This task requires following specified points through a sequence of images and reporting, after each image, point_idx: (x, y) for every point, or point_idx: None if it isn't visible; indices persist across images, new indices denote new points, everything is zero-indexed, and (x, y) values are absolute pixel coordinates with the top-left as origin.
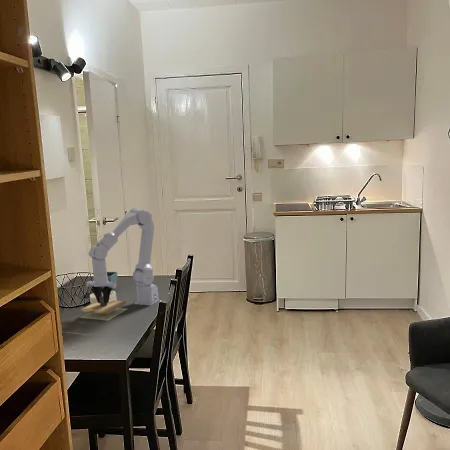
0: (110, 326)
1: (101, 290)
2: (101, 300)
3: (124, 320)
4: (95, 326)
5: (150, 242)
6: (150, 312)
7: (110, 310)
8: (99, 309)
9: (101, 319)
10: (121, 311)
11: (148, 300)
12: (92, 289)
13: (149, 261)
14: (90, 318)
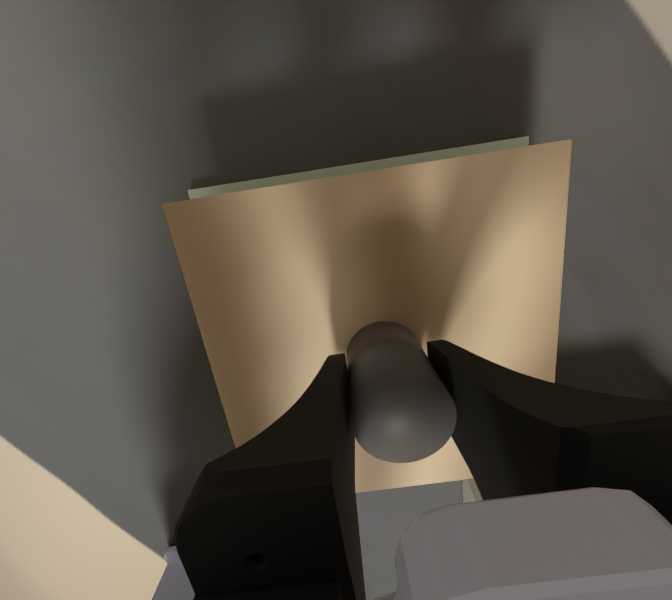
0: (54, 90)
1: (322, 456)
2: (381, 356)
3: (82, 268)
4: (190, 19)
5: None
6: (62, 463)
7: (182, 267)
8: (326, 237)
9: (268, 184)
10: None
11: (182, 588)
12: (650, 420)
13: None
14: (393, 160)
